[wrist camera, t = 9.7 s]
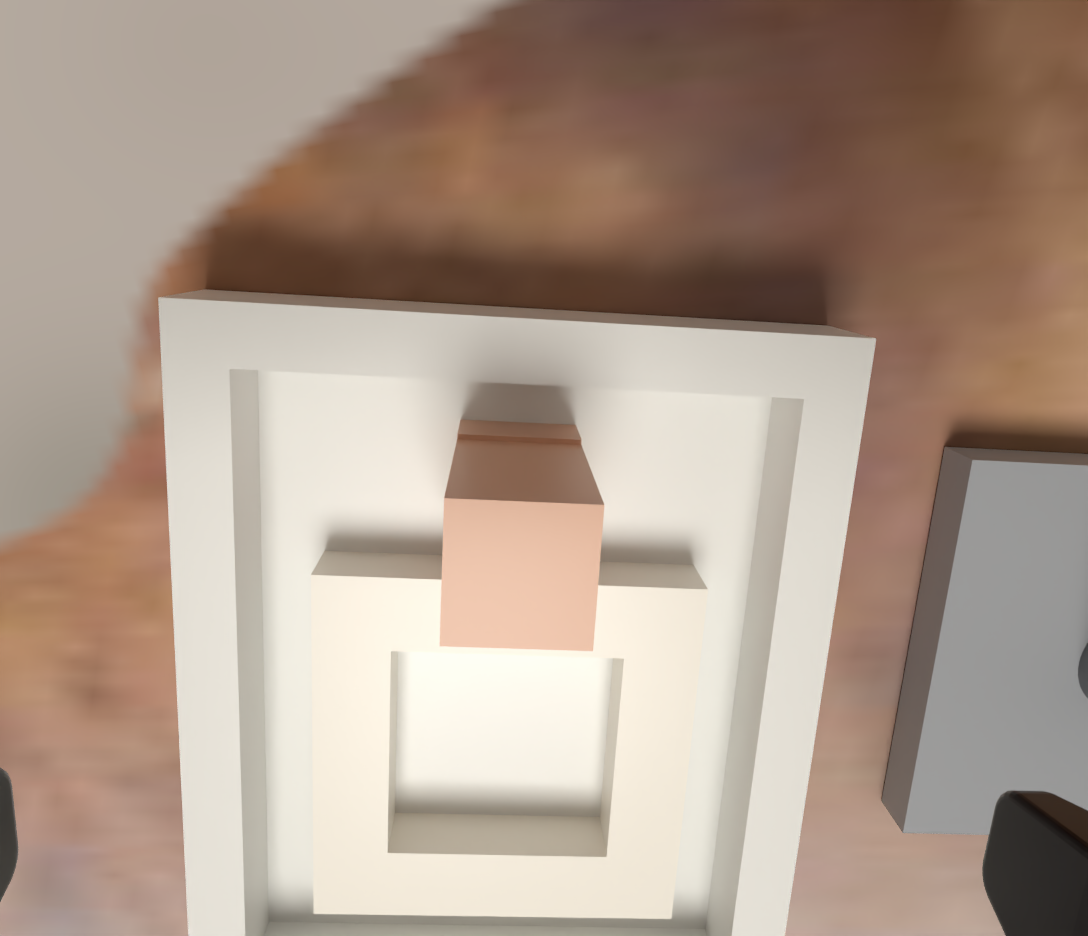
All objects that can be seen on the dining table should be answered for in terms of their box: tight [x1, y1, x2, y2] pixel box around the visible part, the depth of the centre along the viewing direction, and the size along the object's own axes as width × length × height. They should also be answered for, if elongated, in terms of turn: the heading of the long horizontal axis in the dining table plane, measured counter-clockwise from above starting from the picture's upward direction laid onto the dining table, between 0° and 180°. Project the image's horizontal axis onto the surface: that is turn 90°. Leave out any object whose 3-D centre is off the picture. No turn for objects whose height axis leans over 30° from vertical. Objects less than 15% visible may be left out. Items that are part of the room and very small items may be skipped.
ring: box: [311, 420, 708, 919], centre depth 17 cm, size 8×11×5 cm
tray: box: [158, 289, 876, 936], centre depth 19 cm, size 13×16×2 cm
